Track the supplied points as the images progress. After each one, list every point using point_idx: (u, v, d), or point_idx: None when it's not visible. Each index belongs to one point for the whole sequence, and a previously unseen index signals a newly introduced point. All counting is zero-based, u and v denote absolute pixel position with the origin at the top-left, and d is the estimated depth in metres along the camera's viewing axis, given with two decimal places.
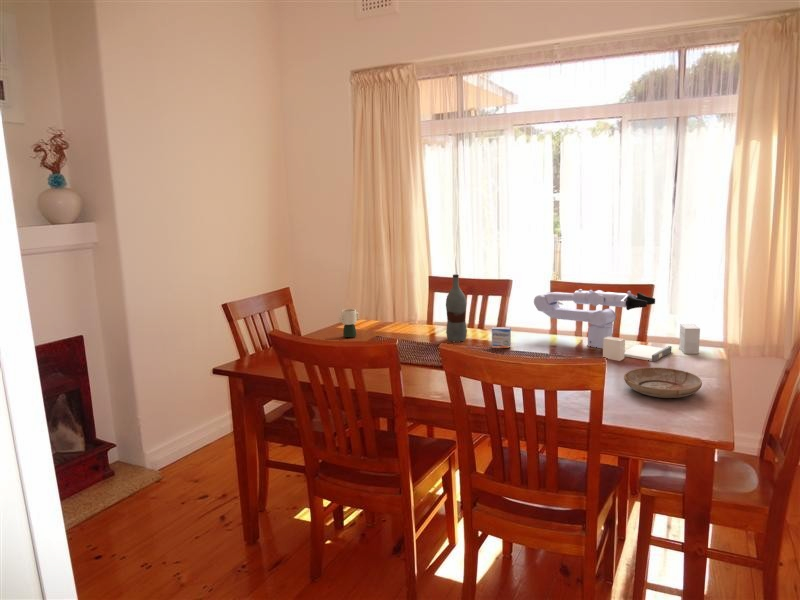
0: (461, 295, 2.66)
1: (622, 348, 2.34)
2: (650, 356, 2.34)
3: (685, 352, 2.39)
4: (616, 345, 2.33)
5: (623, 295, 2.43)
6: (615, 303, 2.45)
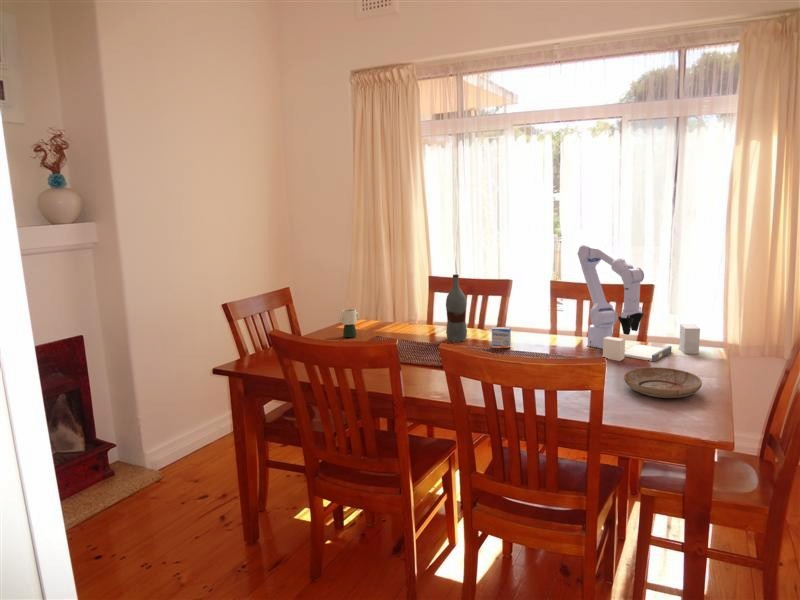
0: (461, 295, 2.66)
1: (622, 348, 2.34)
2: (650, 356, 2.34)
3: (685, 352, 2.39)
4: (616, 345, 2.33)
5: (635, 308, 2.34)
6: (626, 300, 2.35)
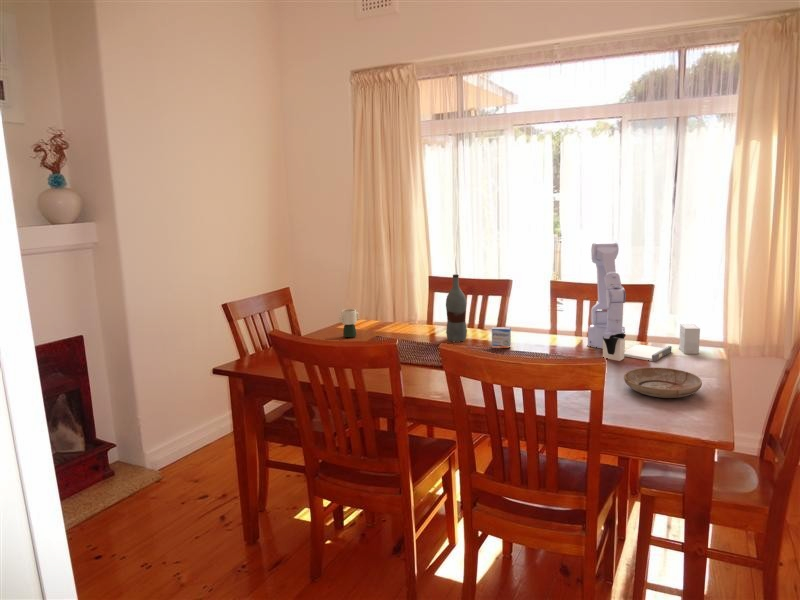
0: (461, 295, 2.66)
1: (622, 348, 2.34)
2: (650, 356, 2.34)
3: (685, 352, 2.39)
4: (616, 345, 2.33)
5: (618, 328, 2.32)
6: (609, 320, 2.33)
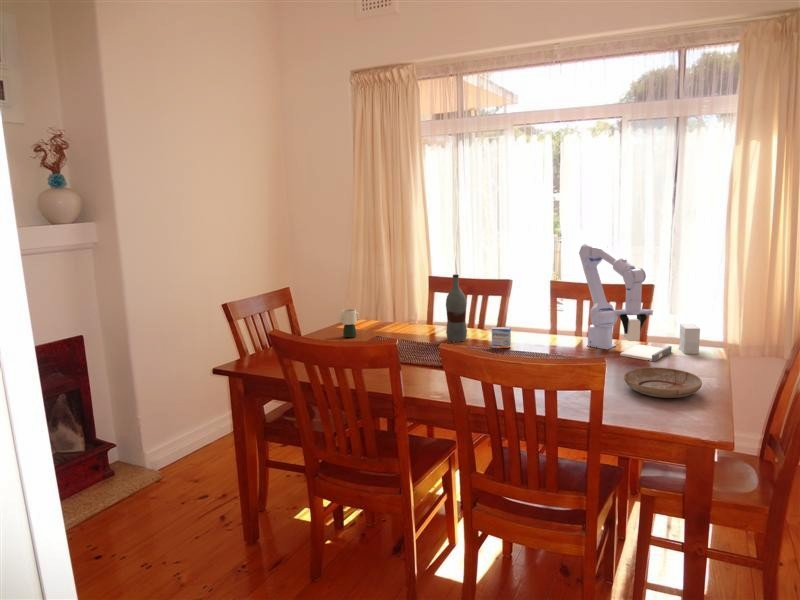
0: (461, 295, 2.66)
1: (634, 329, 2.34)
2: (650, 356, 2.34)
3: (685, 352, 2.39)
4: (628, 325, 2.35)
5: (630, 308, 2.34)
6: None
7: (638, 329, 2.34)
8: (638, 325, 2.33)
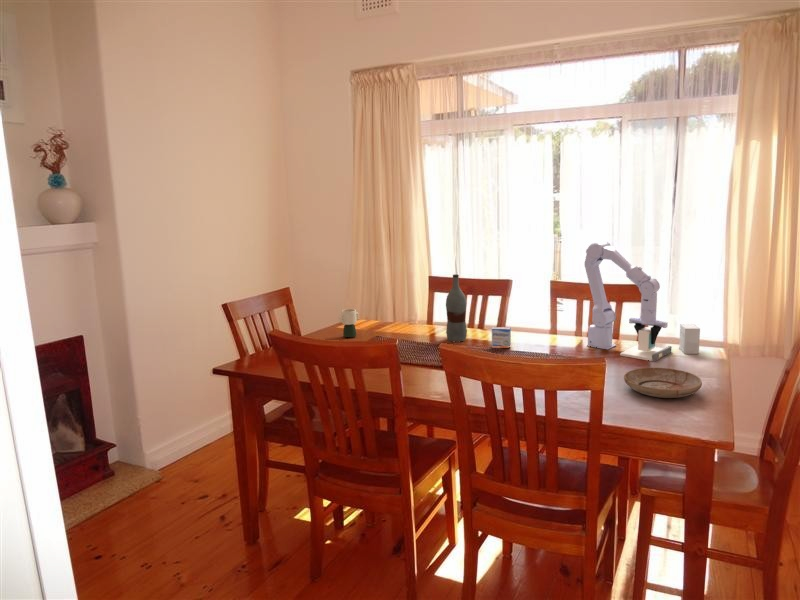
0: (461, 295, 2.66)
1: (642, 338, 2.38)
2: (650, 356, 2.34)
3: (685, 352, 2.39)
4: None
5: (641, 317, 2.38)
6: None
7: (646, 339, 2.37)
8: (646, 335, 2.36)
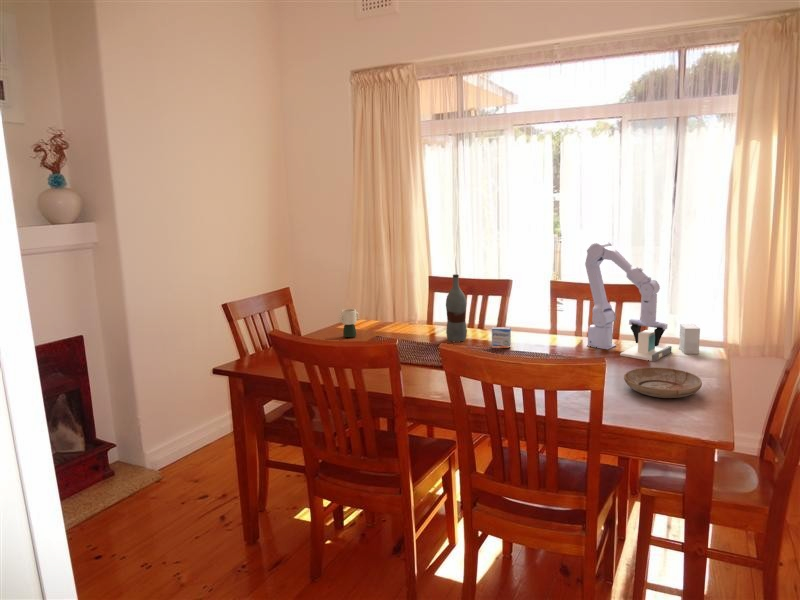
0: (461, 295, 2.66)
1: (642, 341, 2.38)
2: (650, 356, 2.34)
3: (685, 352, 2.39)
4: None
5: (641, 319, 2.38)
6: None
7: (646, 342, 2.37)
8: (646, 338, 2.37)
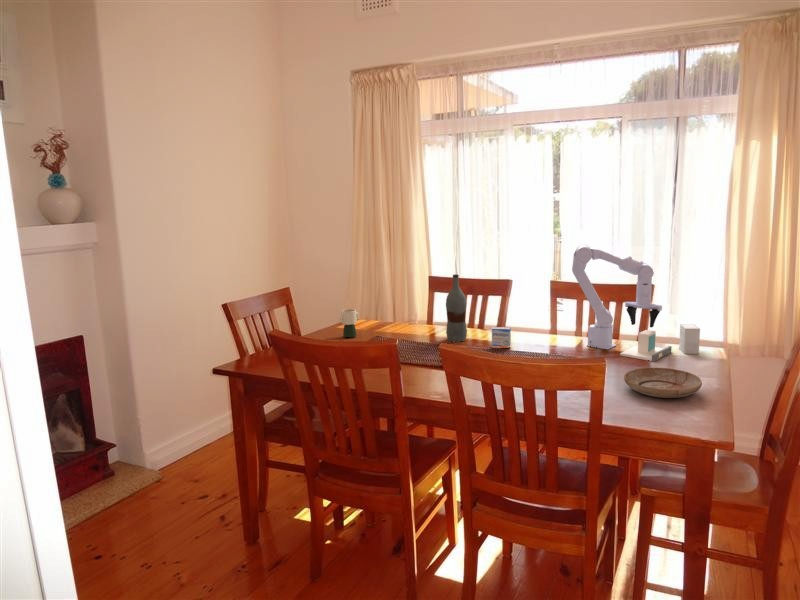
0: (461, 295, 2.66)
1: (642, 341, 2.38)
2: (650, 356, 2.34)
3: (685, 352, 2.39)
4: None
5: (637, 301, 2.46)
6: None
7: (646, 342, 2.37)
8: (646, 338, 2.37)
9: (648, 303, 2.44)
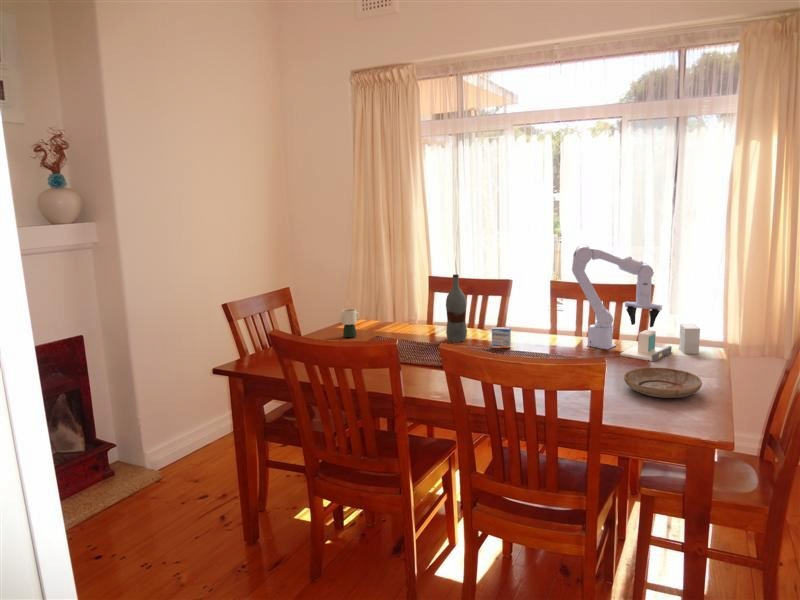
0: (461, 295, 2.66)
1: (642, 341, 2.38)
2: (650, 356, 2.34)
3: (685, 352, 2.39)
4: None
5: (637, 301, 2.47)
6: None
7: (646, 342, 2.37)
8: (646, 338, 2.37)
9: (648, 303, 2.45)
